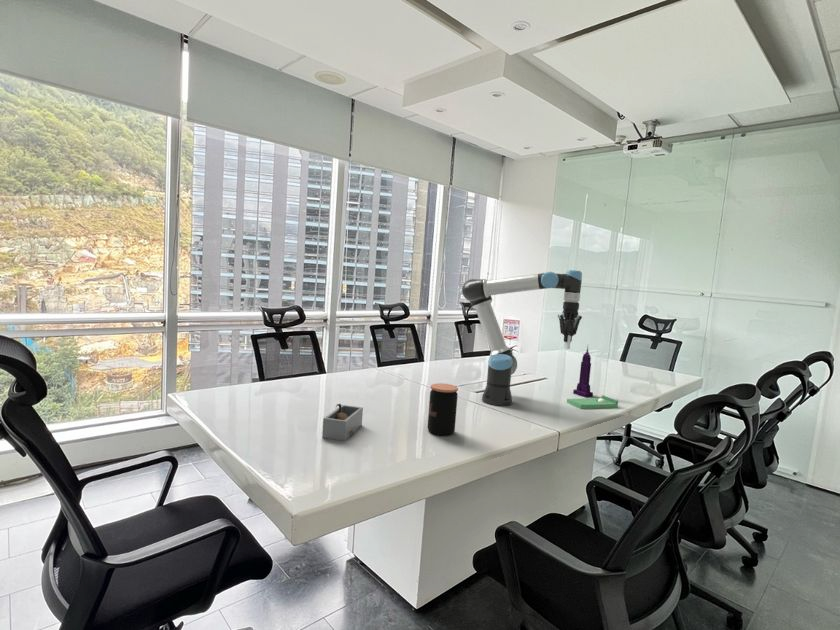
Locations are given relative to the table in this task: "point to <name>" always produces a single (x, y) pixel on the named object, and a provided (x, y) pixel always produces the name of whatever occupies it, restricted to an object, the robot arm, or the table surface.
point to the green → (593, 403)
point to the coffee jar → (442, 409)
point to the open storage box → (342, 423)
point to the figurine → (342, 415)
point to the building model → (584, 377)
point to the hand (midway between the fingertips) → (566, 348)
